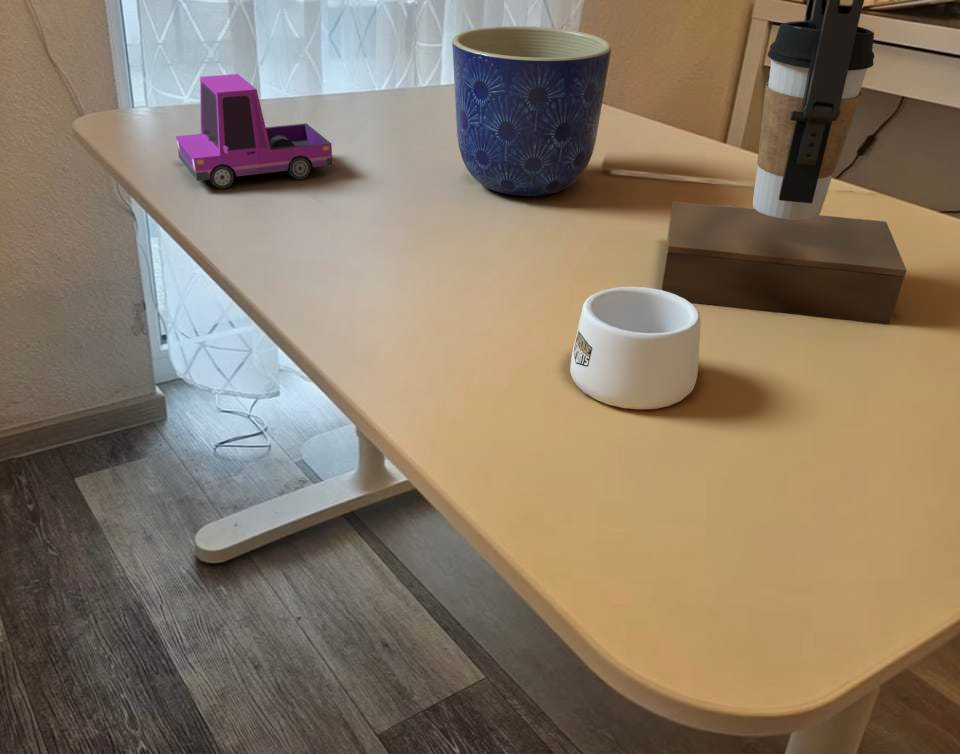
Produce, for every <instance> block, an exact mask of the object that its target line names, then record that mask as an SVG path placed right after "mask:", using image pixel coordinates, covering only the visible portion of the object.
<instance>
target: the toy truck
mask: <svg viewBox="0 0 960 754" xmlns="http://www.w3.org/2000/svg"><path fill="white" fill-rule="evenodd" d="M199 82H200V83H199V90H200V91H199V95H200V98H199V99H200V103H199V106H200V107H199V108H200V110H199V111H200V112H199V113H200V133H196V134H185V135H175V140H176V147H177V153H178V158H179V160H180V161H181V162H182V163H183V165H184V166H185V167H186V169H187V170H188V172H189V173H190V174H191V175H192V176H193V178H194V179H195V180H196V181H197V182H201V181H209V182H210V183H211V184H212V185H213V186H214V187H215V188H217V189H218V190H219V189H220V190H225V189H227V188H230V187H231V186H232V184H233V183H234V180H235V179H234V178H235V176H236V177H244V176H252V175H261V174H270V173H278V172H285V171H286V172H287V173H288V174H289V175H290V176H291V177H292V178H294V180H299V181H301V180H304V179H306V178H307V177H308V176H309V175H310V173H311V168H319V167H329V166H333V164H334V163H333V149H332V148H333V147H332V143H331V142H330V141H329V140H328V139H326V138H325V137H324V136H323V135H322V134H321V133H319V132H318V131H316V129H314V128H313V127H312V126H311V125H309V124H308V123H306V122H305V123H296V124H286V125H285V124H284V125H276V126H267V127H266V123H265V119H264V114H263V110H262V106H261V102H260V98H259V93H258V89H257V88H256V87H255V86H254V85H252V84H251V83H249V82H248V80H246V79H245V78H244V77H242V75H240V74H239V73H233V74H220V75H218V74H216V75H205V76H204V75H203V76H200V77H199Z"/></svg>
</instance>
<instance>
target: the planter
mask: <svg viewBox="0 0 960 754" xmlns="http://www.w3.org/2000/svg"><path fill="white" fill-rule="evenodd" d="M451 44H452V62H453V63H452V64H453V78H454V79H453V81H454V101H455V119H456V134H457V144H458V149H459V152H460V156H461V159H462V162H463V164H464V166H465V168H466V169H467V171H468V172H469V174H470V175H471V176H472V178H474V179H475V181H477V182H478V183H479V184H481V185H482V186H483V187H485V188H487V189H489V190H491V191H494V192H496V193H500V194H505V195H510V196H515V197H517V196H518V197H539V196H540V197H541V196H546V195H551V194H552V195H553V194H555V193H558V192H561V191H563V190H565V189H567V188H568V187H571V186H572V185H573V184H574V183H576V182H577V180H579V178H580V177H581V176H582V175H583V174H584V172H585V171H586V169H587V167H588V165H589V163H590V162H591V158H592V156H593V154H594V150H595V146H596V141H597V136H598V131H599V125H600V120H601V119H600V118H601V114H602V107H603V101H604V96H605V95H604V94H605V89H606V83H607V78H608V71H609V65H610V59H611V55H612V45H611V43H610V42H609V41H607V40H606V39H604V38H602V37H600V36H597V35H595V34H590V33H586V32H582V31H577V30H571V29H565V28H564V29H563V28H556V27H546V26H531V25H530V26H526V25H525V26H524V25H509V26H508V25H507V26H505V25H504V26H488V27H481V28H475V29H470V30H465V31H462V32H460V33H458V34H456V35H455V36H454V37H453V38H452V41H451Z"/></svg>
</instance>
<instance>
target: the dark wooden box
mask: <svg viewBox="0 0 960 754" xmlns="http://www.w3.org/2000/svg"><path fill="white" fill-rule="evenodd" d="M667 230H668V231H667V237H666V245H665V252H664V258H663V259H664V261H663V267H662V268H663V269H662V277H661V288H660V290H663V291H666V292H669V293H672V294H675V295H677V296H679V297H682V298H684V299H686V300H687V301H688V302H690V303H695V304H703V305H704V304H705V305H713V306H720V307H721V306H722V307H731V308H741V309H749V310H758V311H765V312H766V311H768V312H777V313H787V314H795V315H804V316H813V317H821V318H830V319H841V320H850V321H857V322H866V323H867V322H869V323H878V324H886V325H890V324H891V321H892V318H893V315H894V312H895V309H896V305H897V302H898V300H899V296H900V293H901V290H902V287H903V284H904V281H905V277H906V274H907V268H906V265H905V263H904V261H903V258H902V256H901V253H900V251H899V249H898V247H897V244H896V241H895V239H894V237H893V233H892V232H891V230H890V227H889V225H888V222H887V221H884V220H874V219H863V218H855V217H854V218H853V217H844V216H843V217H842V216H832V215H822V214H819V215H818V216H817V217H815V218H812V219H807V220H786V219H779V218H775V217H771V216H768V215H765V214H762V213H760V212H758V211H757V210H756V209H755V208H749V207H748V208H747V207H738V206H725V205H718V204H717V205H716V204H707V203H706V204H705V203H695V202H686V201H685V202H683V201H675V200H674V201H672V205H671V211H670V218H669V223H668V229H667Z"/></svg>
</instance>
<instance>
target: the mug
mask: <svg viewBox="0 0 960 754" xmlns="http://www.w3.org/2000/svg"><path fill="white" fill-rule="evenodd" d="M701 324H702V320H701V315H700V311H699V310H698V309H697V307H696V306H695V305H694V304H692V302H688V301H687V300H686V299H684V298H682V297H679V296H677V295H675V294H672V293H669V292H666V291H663V290H661V289H657V288H652V287H643V286H618V287H617V286H616V287H612V288H611V287H610V288H607V289H604V290H600V291H597V292H595V293H593V294H591V295H590V296H588V297H587V299H586V300H585V301H584V303H583V305H582V309H581V314H580V317H579V322H578V326H577V327H578V328H577V331H576V336H575V339H574V344H573V348H572V353H571V359H570V365H569V366H570V368H569V369H570V375H571V378H572V380H573V382H574V383H575V384H576V387H578V388H579V389H580V390H581V391H582V392H583V393H584V394H585V395H587V396H589V397H590V398H592V399H593V400H596V401H598V402H601V403H603V404H606V405H608V406H613V407H617V408H622V409H629V410H656V409H661V408H666V407H670V406H673V405H675V404H677V403H679V402H681V401H682V400H684V399H685V398H686V397H687V396H689V394H691V393H692V392H693V390H694V388H695V385H696V383H697V378H698V374H699V373H698V372H699V357H700V356H699V355H700V340H701V326H702V325H701Z"/></svg>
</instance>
